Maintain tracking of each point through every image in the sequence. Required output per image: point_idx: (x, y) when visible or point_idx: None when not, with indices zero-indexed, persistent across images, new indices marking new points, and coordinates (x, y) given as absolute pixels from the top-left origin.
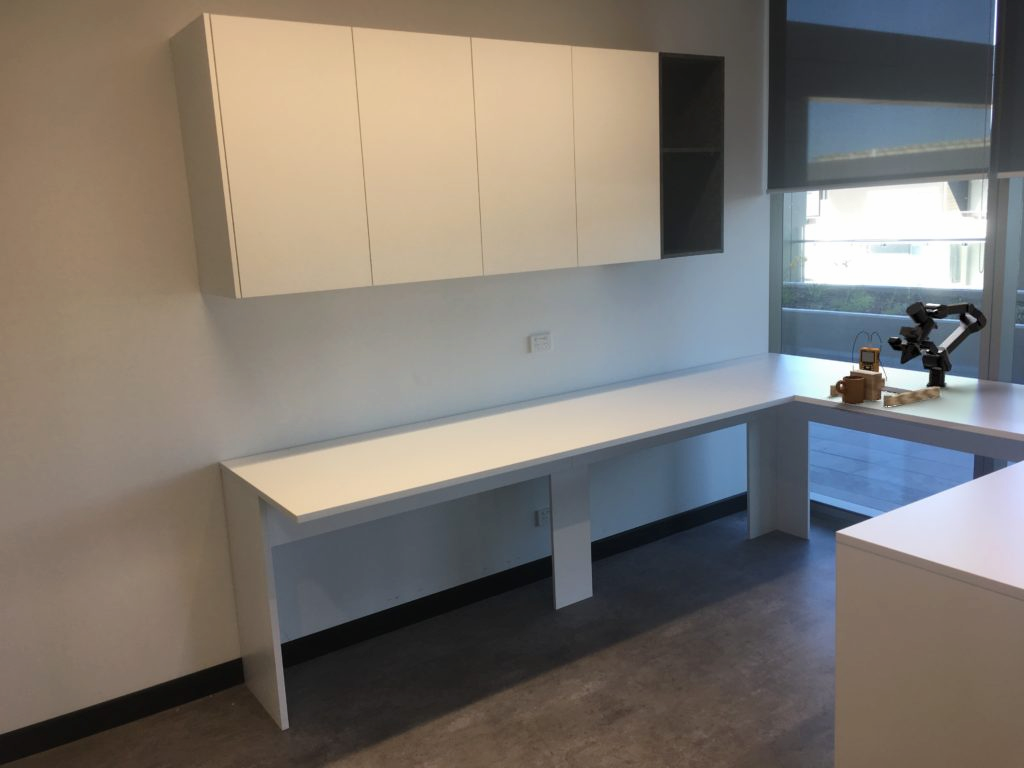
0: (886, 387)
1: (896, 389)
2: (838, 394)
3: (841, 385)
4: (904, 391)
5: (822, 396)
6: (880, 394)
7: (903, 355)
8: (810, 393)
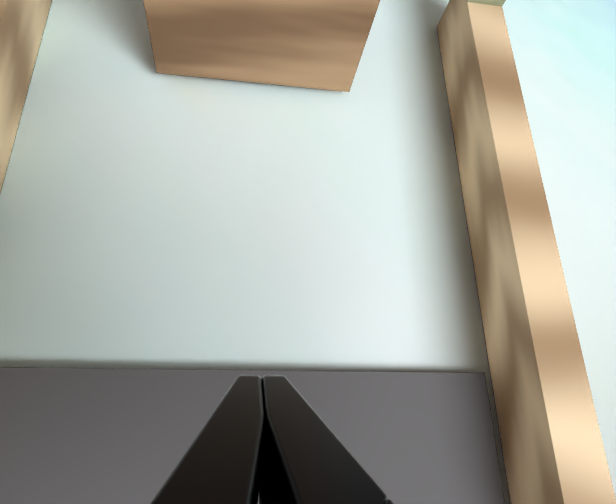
0: (458, 500)
1: None
2: (445, 48)
3: (498, 49)
4: None
5: None
6: (151, 34)
7: (300, 485)
8: (576, 24)
